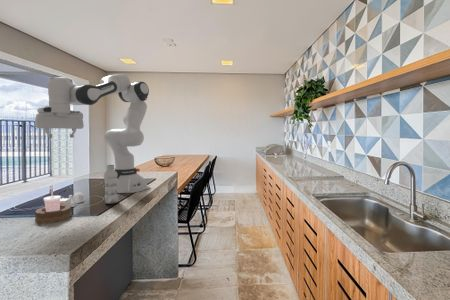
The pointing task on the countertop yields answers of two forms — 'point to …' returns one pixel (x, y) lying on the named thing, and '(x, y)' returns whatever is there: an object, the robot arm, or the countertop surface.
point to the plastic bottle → (110, 185)
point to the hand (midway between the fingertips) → (61, 137)
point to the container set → (73, 199)
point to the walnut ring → (53, 214)
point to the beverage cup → (52, 202)
